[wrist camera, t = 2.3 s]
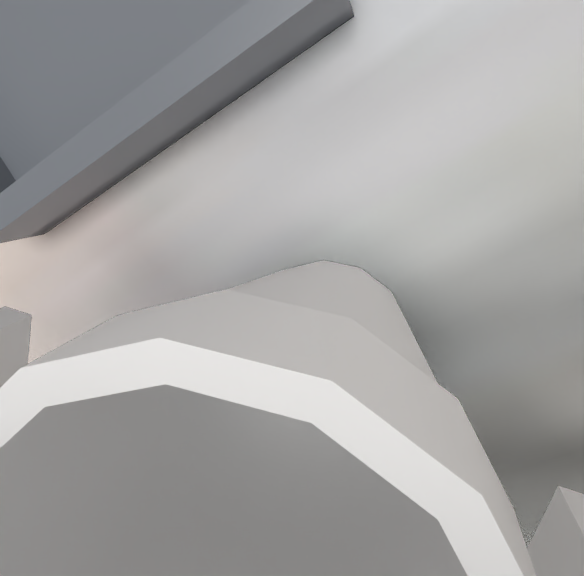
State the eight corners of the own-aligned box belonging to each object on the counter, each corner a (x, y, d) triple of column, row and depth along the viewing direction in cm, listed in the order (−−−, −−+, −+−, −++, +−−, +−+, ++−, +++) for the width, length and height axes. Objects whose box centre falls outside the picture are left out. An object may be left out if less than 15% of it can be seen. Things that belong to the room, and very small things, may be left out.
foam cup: (313, 482, 21) (192, 934, 9) (170, 320, 21) (-170, 558, 8) (504, 359, 18) (730, 784, 6) (343, 166, 18) (210, 178, 5)
